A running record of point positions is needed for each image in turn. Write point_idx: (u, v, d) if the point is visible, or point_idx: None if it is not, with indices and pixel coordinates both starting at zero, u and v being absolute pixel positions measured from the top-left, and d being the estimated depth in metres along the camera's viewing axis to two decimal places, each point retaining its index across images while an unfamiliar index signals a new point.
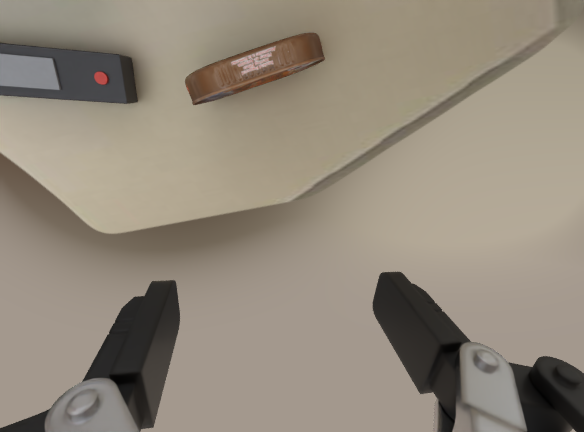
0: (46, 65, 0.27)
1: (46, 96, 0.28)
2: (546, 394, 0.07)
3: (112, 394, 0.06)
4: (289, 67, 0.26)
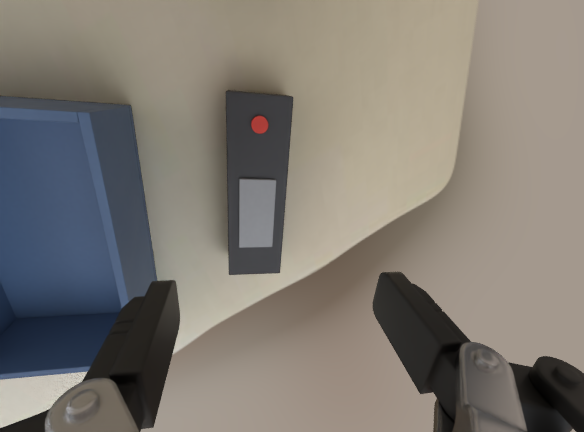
0: (248, 187, 0.21)
1: (283, 197, 0.22)
2: (546, 394, 0.07)
3: (112, 394, 0.06)
4: None
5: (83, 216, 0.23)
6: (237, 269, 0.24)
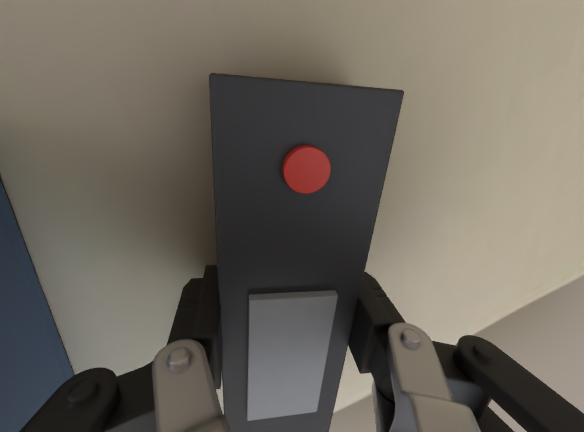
0: (270, 316, 0.09)
1: (348, 323, 0.10)
2: (463, 369, 0.07)
3: (200, 352, 0.07)
4: None
5: None
6: None
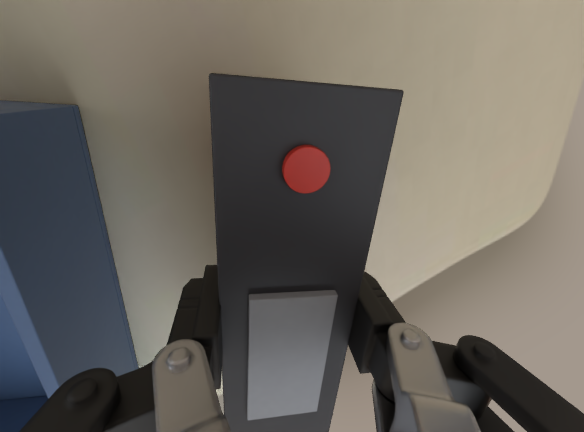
0: (270, 316, 0.09)
1: (348, 322, 0.10)
2: (463, 369, 0.07)
3: (200, 352, 0.07)
4: None
5: None
6: None
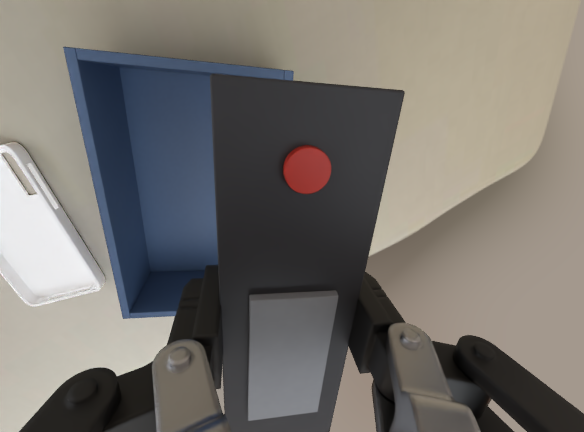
0: (271, 316, 0.09)
1: (349, 323, 0.10)
2: (463, 369, 0.07)
3: (200, 352, 0.07)
4: None
5: None
6: None
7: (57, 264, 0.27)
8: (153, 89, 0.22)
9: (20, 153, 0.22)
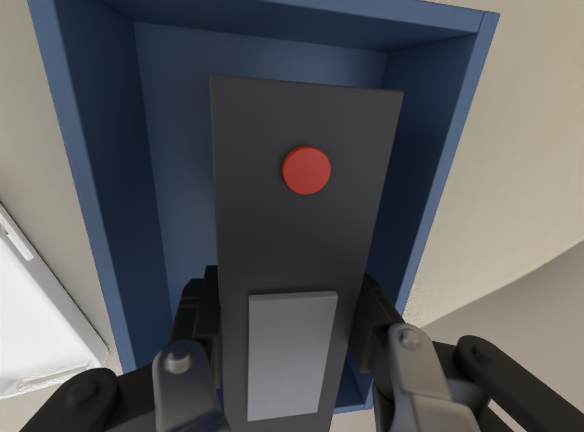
0: (270, 317, 0.09)
1: (349, 323, 0.10)
2: (463, 369, 0.07)
3: (200, 352, 0.07)
4: None
5: None
6: None
7: (35, 336, 0.18)
8: (191, 63, 0.13)
9: None
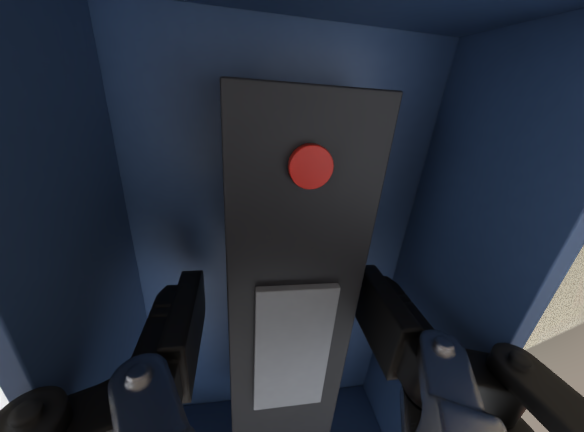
0: (276, 307, 0.09)
1: (351, 315, 0.10)
2: (499, 377, 0.07)
3: (163, 367, 0.06)
4: None
5: None
6: None
7: None
8: (176, 53, 0.09)
9: None
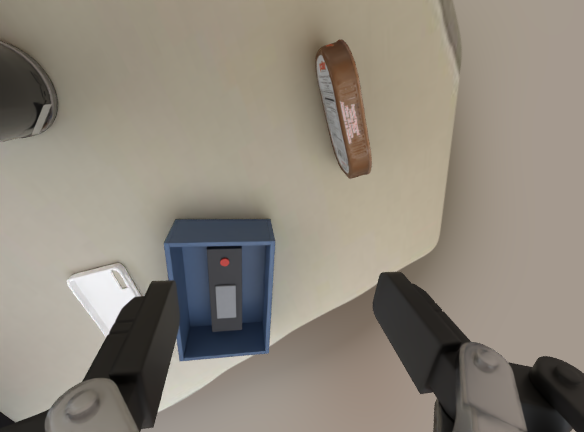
0: (220, 290, 0.39)
1: (240, 292, 0.40)
2: (546, 394, 0.07)
3: (112, 394, 0.06)
4: (359, 87, 0.27)
5: None
6: (217, 328, 0.43)
7: None
8: None
9: (122, 270, 0.39)
